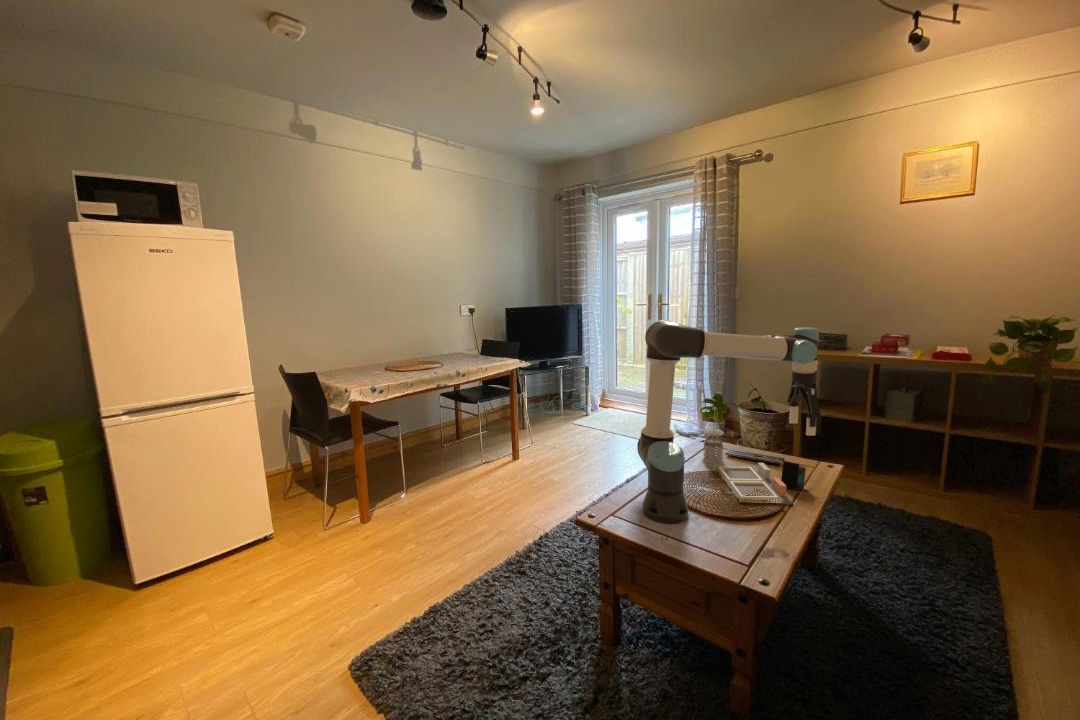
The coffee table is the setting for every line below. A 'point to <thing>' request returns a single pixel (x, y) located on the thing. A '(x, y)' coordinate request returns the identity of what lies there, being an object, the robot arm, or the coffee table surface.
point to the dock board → (754, 482)
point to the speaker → (793, 475)
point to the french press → (713, 447)
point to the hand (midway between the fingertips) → (801, 429)
